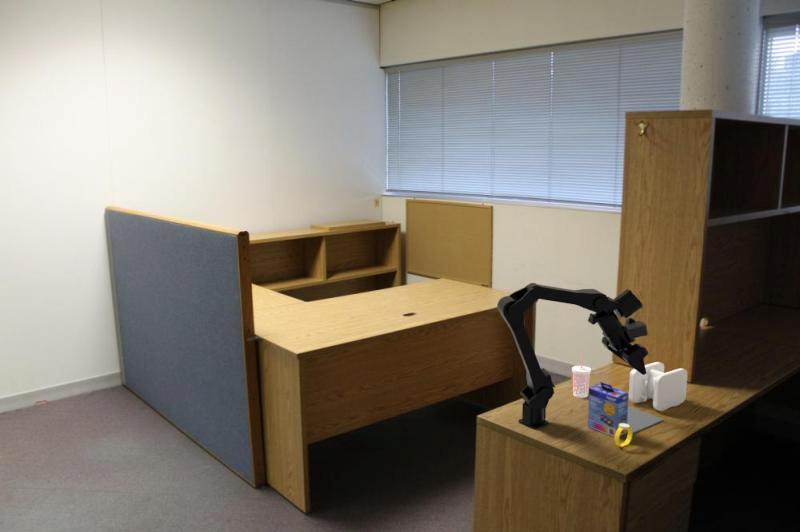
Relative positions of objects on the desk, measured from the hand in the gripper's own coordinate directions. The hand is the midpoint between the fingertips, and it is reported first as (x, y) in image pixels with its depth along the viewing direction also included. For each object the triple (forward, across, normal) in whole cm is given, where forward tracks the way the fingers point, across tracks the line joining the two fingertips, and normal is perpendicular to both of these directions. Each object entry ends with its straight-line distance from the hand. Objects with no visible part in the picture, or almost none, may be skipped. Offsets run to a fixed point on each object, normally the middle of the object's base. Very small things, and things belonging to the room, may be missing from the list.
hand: (637, 368), depth 197 cm
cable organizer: (+19, +8, -1) cm, 20 cm away
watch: (+6, -18, +18) cm, 26 cm away
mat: (+11, -2, +10) cm, 15 cm away
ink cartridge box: (+6, -8, +18) cm, 21 cm away
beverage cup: (+8, +19, +16) cm, 26 cm away
